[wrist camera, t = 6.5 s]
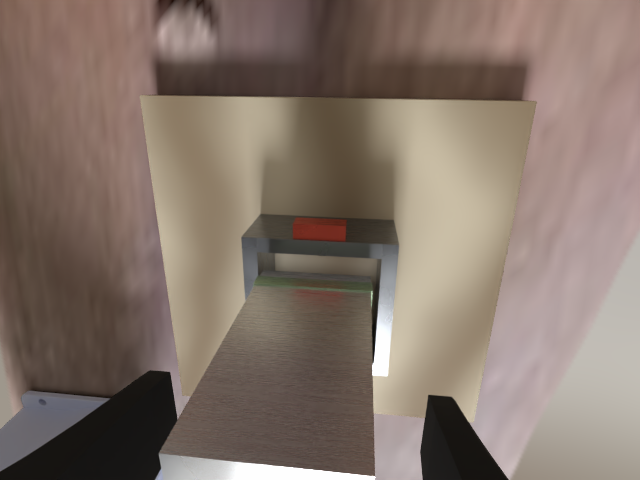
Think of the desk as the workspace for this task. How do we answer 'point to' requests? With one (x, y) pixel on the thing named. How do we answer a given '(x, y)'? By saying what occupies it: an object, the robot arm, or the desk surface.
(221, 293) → the stand base
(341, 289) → the column
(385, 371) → the sleeve
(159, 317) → the desk surface
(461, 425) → the robot arm
